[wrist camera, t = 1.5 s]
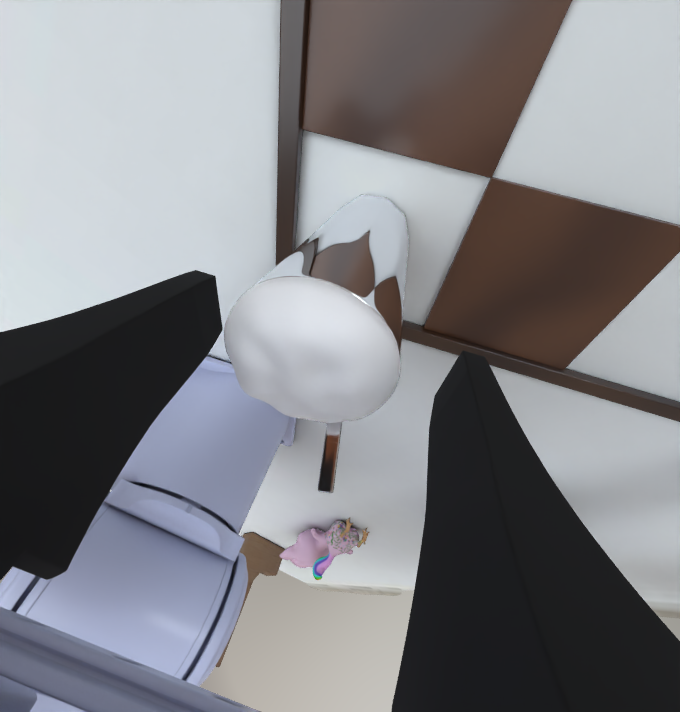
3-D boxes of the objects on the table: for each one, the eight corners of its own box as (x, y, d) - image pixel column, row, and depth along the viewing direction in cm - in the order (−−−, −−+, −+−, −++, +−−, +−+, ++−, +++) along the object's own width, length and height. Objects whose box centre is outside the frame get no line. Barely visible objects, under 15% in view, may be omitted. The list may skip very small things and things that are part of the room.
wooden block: (243, 533, 52) (188, 655, 42) (252, 531, 50) (197, 659, 40) (276, 550, 54) (231, 671, 44) (286, 549, 52) (241, 676, 42)
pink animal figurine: (339, 497, 36) (271, 534, 45) (329, 554, 32) (255, 584, 40) (380, 522, 38) (307, 553, 46) (376, 580, 33) (296, 603, 41)
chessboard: (278, 295, 18) (274, 300, 17) (295, -344, 6) (285, -367, 6) (712, 425, 16) (717, 434, 16) (1733, -138, 5) (1832, -152, 4)
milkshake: (341, 300, 17) (255, 483, 10) (306, 190, 13) (137, 345, 6) (433, 290, 15) (409, 504, 8) (417, 161, 12) (354, 330, 5)
